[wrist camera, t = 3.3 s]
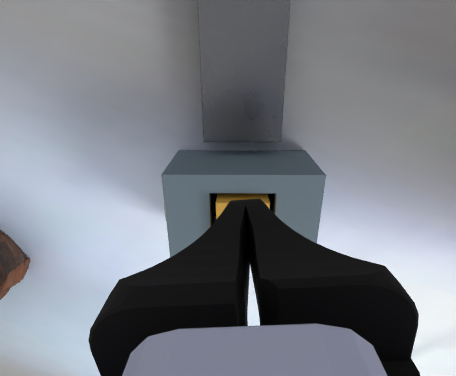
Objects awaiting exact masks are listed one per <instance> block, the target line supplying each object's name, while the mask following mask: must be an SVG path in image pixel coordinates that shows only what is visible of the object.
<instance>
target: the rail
mask: <svg viewBox="0 0 456 376" xmlns="http://www.w3.org/2000/svg"><path fill="white" fill-rule="evenodd" d="M289 11H290V0H198V17H199V41H200V65H201V88H202V112H203V136H204V142H281V132H282V117H283V102H284V87H285V71H286V56H287V41H288V26H289Z"/></svg>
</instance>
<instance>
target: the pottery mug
mask: <svg viewBox="0 0 456 376" xmlns="http://www.w3.org/2000/svg"><path fill="white" fill-rule="evenodd" d="M29 263H30V258H26V255H25V254H24V252H23V251H22V250H21V248H20V247H19V246H18V245H17V244H16V243H15V242H14V241H13V240H12V239H11V238H10V237H9V236H8V235H6V234H5V233H3V232H2V231H1V230H0V300H1V299H2V298H3V297H4V296H5V295H6V294H7V292H8V291H9V289H10V288H11V287H12V286H14V285H16V284H17V283H19V282H20V281H21V280H22V279H23V278H24V276H25V274H26V272H27V269H28V266H29Z"/></svg>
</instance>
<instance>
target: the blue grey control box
mask: <svg viewBox="0 0 456 376" xmlns="http://www.w3.org/2000/svg"><path fill="white" fill-rule="evenodd" d="M325 178H326V175H325V174H324V172H323V171H322V170H321V169H320V168H319V166H318V165H317V164H316V163H315V162H314V160H313V159H312V158H311V157H310V156H309V154H308V153H307V152H306V151H178V152H177V154H176V155H175V157H174V158H173V159H172V161H171V162H170V164H169V165H168V166H167V168H166V169H165V171H164V172H163V174H162V183H163V192H164V210H165V217H166V221H167V230H168V239H169V249H170V257H172V256H174V255H175V254H177V253H178V252H180V251H182V250H183V249H185V248H186V247H188V246H189V245H190V244H192V243H193V242H194V241H196V240H197V239H198V238H199V237H200V236H202V235H203V234H204V233H205V232H206V231H207V230H208V229H209V227H210V226H211V225H212V224H213V223H214V222H215V221H216V217H211V193H274V210H273V213H274V214H275V215H276V216H277V217H278V218H279V219H280V220H281V221H283V222H284V223H285V224H286V225H287V226H289V227H290V228H291V229H293V230H294V231H296V232H297V233H299V234H301V235H302V236H304V237H305V238H307V239H309V240H311V241H313V242H315V243H317V236H318V229H319V222H320V214H321V207H322V200H323V192H324V185H325Z"/></svg>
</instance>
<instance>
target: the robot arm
mask: <svg viewBox="0 0 456 376" xmlns="http://www.w3.org/2000/svg"><path fill="white" fill-rule="evenodd" d="M250 266H251V271H252V277H253V282H254V288H255V293H256V299H257V304H258V310H259V317H260V326H248V324H247V306H248V288H249V269H250ZM417 328H418V311H417V309H416V306H415V303H414V302H413V300H412V299H411V298H410V296H409V295H408V294H407V292H406V291H405V289H404V288H403V287H402V285H401V284H400V283H399V282H398V280H397V279H396V278H395V277H394V276H393V275H392V273H391V272H390V271H389V270H388V269H387V268H386V267H385V266H383V265H379V264H375V263H371V262H367V261H364V260H360V259H356V258H352V257H349V256H347V255H344V254H341V253H338V252H335V251H333V250H330V249H328V248H325V247H323V246H321V245H319V244H317V243H315V242H313V241H311V240H309V239H307V238H305V237H304V236H302V235H301V234H299V233H297V232H296V231H294V230H293V229H291V228H290V227H289V226H287V225H286V224H285V223H284V222H283V221H281V220H280V219H279V218H278V217H277V216H276V215H275V214H274V213H273V212H272V211H271V210H270V209H269V208H268V206H267V205H266V204H265V203H264V202H263V201H262V200H261V199H247V200H232V201H230V202H229V203H228V204H227V206H226V207H225V209H224V210H223V212H222V213H221V214H220V216H219V217H218V218H217V219H216V221H215V222H214V223H213V224H212V225H211V226H210V227H209V229H208V230H207V231H206V232H205V233H204V234H203V235H202V236H200V237H199V238H198V239H197V240H196V241H194V242H193V243H192V244H190V245H189V246H188V247H186V248H185V249H183V250H182V251H180V252H178V253H177V254H175V255H174V256H172V257H170V258H169V259H167V260H165V261H163V262H161V263H159V264H157V265H155V266H153V267H151V268H148V269H146V270H144V271H141V272H139V273H136V274H133V275H131V276H128V277H126V278H123V279H120V280H119V281H118V283H117V284H116V286H115V287H114V289H113V290H112V292H111V293H110V295H109V297H108V299H107V300H106V302H105V304H104V306H103V308H102V309H101V311H100V313H99V315H98V317H97V318H96V320H95V322H94V324H93V326H92V327H91V329H90V335H89V344H90V349H91V352H92V355H93V357H94V360H95V362H96V365H97V367H98V370H99V372H100V375H101V376H420V373H419V371H418V369H417V367H416V366H415V364H414V362H413V361H412V359H411V354H412V349H413V345H414V341H415V337H416V332H417Z"/></svg>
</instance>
